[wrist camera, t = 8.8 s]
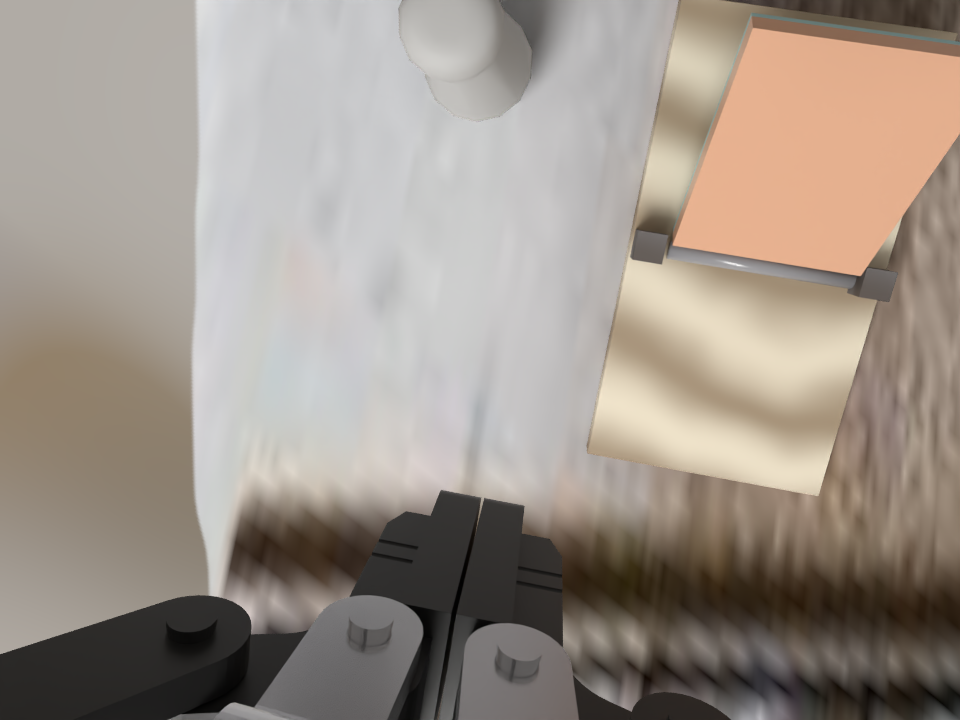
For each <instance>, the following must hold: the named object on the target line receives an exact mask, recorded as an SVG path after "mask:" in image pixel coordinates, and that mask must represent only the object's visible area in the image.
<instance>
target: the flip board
mask: <svg viewBox="0 0 960 720" xmlns="http://www.w3.org/2000/svg"><path fill="white" fill-rule="evenodd" d="M751 13H758V14H765V15H772V16H779V17H786V18H793V19H801V20H808V21H815V22H822V23H829V24H836V25H843V26H851V27H858V28H865V29H872V30H879V31H886V32H893V33H901V34H908V35H915V36H922V37H929V38H936V39H944V40H951V41H955V40H956V37H957V34H958V33H953V32H946V31H939V30H931V29H924V28H917V27H910V26H903V25H895V24H888V23H881V22H874V21H867V20H860V19H852V18H845V17H838V16H831V15H824V14H816V13H809V12H802V11H795V10H788V9H780V8H773V7H766V6H759V5H752V4H744V3H737V2H730V1H723V0H679V2H678V7H677V11H676V16H675V21H674V26H673V31H672V36H671V41H670V45H669V50H668V55H667V60H666V65H665V70H664V74H663V79H662V84H661V89H660V94H659V99H658V104H657V108H656V113H655V118H654V123H653V128H652V133H651V137H650V142H649V147H648V152H647V157H646V162H645V167H644V171H643V176H642V181H641V186H640V191H639V196H638V200H637V205H636V210H635V215H634V220H633V225H632V230H631V234H630V239H629V244H628V249H627V254H626V259H625V263H624V268H623V273H622V278H621V283H620V288H619V293H618V297H617V302H616V307H615V312H614V317H613V322H612V326H611V331H610V336H609V341H608V346H607V351H606V356H605V360H604V365H603V370H602V375H601V380H600V385H599V389H598V394H597V399H596V404H595V409H594V414H593V419H592V423H591V428H590V433H589V438H588V443H587V453H588V454H593V455H599V456H604V457H609V458H615V459H620V460H626V461H631V462H636V463H642V464H647V465H653V466H658V467H663V468H669V469H674V470H680V471H685V472H691V473H696V474H701V475H707V476H712V477H718V478H723V479H728V480H734V481H739V482H745V483H750V484H755V485H761V486H766V487H772V488H777V489H782V490H788V491H793V492H799V493H804V494H809V495H815V496H818V495H819V491H820V488H821V485H822V482H823V478H824V475H825V472H826V468H827V465H828V462H829V458H830V455H831V452H832V448H833V445H834V442H835V438H836V435H837V432H838V428H839V425H840V422H841V419H842V415H843V412H844V409H845V405H846V402H847V399H848V395H849V392H850V389H851V385H852V382H853V379H854V375H855V372H856V369H857V365H858V362H859V359H860V356H861V352H862V349H863V346H864V342H865V339H866V336H867V332H868V329H869V326H870V322H871V319H872V316H873V312H874V309H875V306H876V302H877V300H879V301H885V302H889V301H890V298H891V294H892V291H893V288H894V285H895V281H896V278H897V275H898V273H897V272H893V271H889V270H886V269H887V266H888V263H889V259H890V256H891V253H892V249H893V246H894V243H895V239H896V236H897V233H898V229H899V226H900V223H901V220H902V217H901V219H900V220H899V222H898V223H897V224H896V226H895V227H894V229H893V230H892V232H891V233H890V235H889V236H888V237H887V239H886V240H885V242H884V243H883V245H882V246H881V247H880V249H879V250H878V252H877V253H876V255H875V256H874V258H873V259H872V260H871V262H870V263H869V265H868V266H867V268H866V269H865V270H864V272H863V273H862V275H861V276H857V278H856V282H855V285H854V286H853V288H851V289H847V288H841V287H834V286H828V285H822V284H816V283H810V282H804V281H798V280H792V279H786V278H780V277H774V276H768V275H762V274H756V273H749V272H743V271H737V270H731V269H725V268H719V267H713V266H707V265H701V264H695V263H689V262H683V261H677V260H671V259H666V254H667V248H668V245H669V242H670V241H673V227H674V225H675V222H676V219H677V216H678V214H679V211H680V208H681V205H682V203H683V200H684V197H685V194H686V192H687V189H688V186H689V183H690V181H691V178H692V175H693V172H694V169H695V167H696V164H697V161H698V158H699V156H700V153H701V150H702V147H703V145H704V142H705V139H706V136H707V134H708V131H709V128H710V125H711V122H712V120H713V117H714V114H715V111H716V109H717V106H718V103H719V100H720V98H721V95H722V92H723V89H724V87H725V84H726V81H727V78H728V76H729V73H730V70H731V67H732V64H733V62H734V59H735V56H736V53H737V51H738V48H739V45H740V42H741V40H742V37H743V34H744V31H745V29H746V26H747V23H748V20H749V17H750V15H751Z"/></svg>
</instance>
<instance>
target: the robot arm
mask: <svg viewBox="0 0 960 720" xmlns="http://www.w3.org/2000/svg"><path fill="white" fill-rule="evenodd" d="M480 502H481V498H480V497H475V496H470V495H464V494H459V493H454V492H449V491H443V490H441V491H440V493H439V496H438V498H437V501H436V504H435V506H434V509H433V511H432V514H431V516H427V515H422V514H417V513H412V512H407V511H406V512H404V513H403V514H401V515H400V516H398V517H396V518H395V519H393V520H391V521H390V522H388V523H387V525H386V527H385V529H384V531H383V533H382V534H381V536H380V538H379V542H377V544H376V546H375V548H374V550H373V552H372V556H370V558H369V560H368V562H367V564H366V566H365V568H364V569H363V571H362V573H361V575H360V577H359V579H358V581H357V583H356V585H355V587H354V589H353V591H352V593H351V595H350V597H348V598H344V599H341V600H338V601H336V602H334V603H332V604H330V605H329V606H328V607H326V608H325V609H324V610H323V611H322V612H321V614H320V615H319V616H318V618H317V619H316V620H315V622H314V623H313V625H312V626H311V628H310V629H309V630H307V631H303V632H297V633H289V634H254V635H251V620H250V617H249V615H248V614H247V612H246V611H245V610H244V609H243V608H242V607H240V606H239V605H237V604H236V603H234V602H232V601H229V600H227V599H223V598H219V597H214V596H200V595H198V596H186V597H180V598H175V599H172V600H168V601H165V602H162V603H159V604H155V605H153V606H150V607H146V608H143V609H140V610H137V611H134V612H131V613H128V614H125V615H121V616H118V617H115V618H112V619H109V620H106V621H102V622H99V623H97V624H93V625H90V626H87V627H84V628H81V629H78V630H74V631H71V632H68V633H65V634H62V635H59V636H56V637H53V638H50V639H47V640H43V641H40V642H37V643H34V644H31V645H28V646H25V647H22V648H18V649H16V650H12V651H10V652H6V653H3V654H0V720H437V716H438V711H439V707H440V703H441V698H442V694H443V698H442V704H441V710H440V717H439V720H731V719H730V718H728V717H727V716H726V715H725V714H723V713H722V712H721V711H719V710H717V709H716V708H714V707H713V706H711V705H709V704H707V703H705V702H703V701H701V700H698V699H696V698H693V697H690V696H687V695H683V694H678V693H668V692H662V693H654V694H650V695H647V696H645V697H643V698H642V699H640V700H639V701H638V702H637V703H636V704H635V706H634V707H633V710H632V712H631V711H629V710H626V709H624V708H622V707H620V706H618V705H615V704H613V703H611V702H609V701H607V700H605V699H603V698H601V697H599V696H597V695H596V694H594V693H593V692H591V691H590V690H588V689H587V688H586V687H585V686H583V685H582V684H581V683H580V682H579V681H578V680H577V679H576V678H575V677H574V675H573V673H572V666H571V662H570V659H569V657H568V655H567V653H566V652H565V650H564V649H563V616H562V556H561V555H560V553H559V552H558V550H557V549H556V547H555V546H554V545H553V543H552V542H551V540H550V539H547V538H542V537H537V536H531V535H526V534H521V533H522V524H523V515H524V506H523V505H517V504H512V503H507V502H502V501H496V500H491V499H486V498H484V502H483V506H482V510H481V514H480V518H479V522H478V527H477V521H478V515H479V509H480ZM476 527H477V531H476ZM475 533H476V535H475ZM444 685H445V686H444ZM443 690H444V692H443Z"/></svg>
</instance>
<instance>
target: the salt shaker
mask: <svg viewBox="0 0 960 720" xmlns="http://www.w3.org/2000/svg"><path fill="white" fill-rule="evenodd" d="M399 35H400V39H401V41H402V43H403V46H404V48H405V50H406V53H407V55H408V57H409V60H410V61H411V62H412V63H413V64H414V65H416V66H417V67H418V68H419V69H420V70H422V71H423V72H424V73H425V78H426V80H427V83H428V85H429V87H430V90H431V92H432V94H433V96H434V99H435V100H436V101H437V102H438V103H439V104H440V105H441V106H443V107H444V108H445V109H446V110H447V111H448V112H449V113H451V114H452V115H453V116H455V117H459V118H463V119H467V120H471V121H475V122H479V121H483V120H488V119H492V118H496V117H500V116H501V115H503V114H504V113H505V112H506V111H508V110H509V109H510V108H511V107H513V106H514V105H515V104H516V103H518V102H519V101H520V99H521V97H522V95H523V93H524V91H525V89H526V87H527V84H528V82H529V80H530V78H531V63H532V49H531V47H530V45H529V43H528V40H527V38H526V36H525V34H524V31H523V29H522V27H521V26H520V25H519V24H518V23H517V22H516V21H515V20H514V19H512V18H511V17H510V16H509V15H508V14H507V13H506V12H505V11H504V10H503V8H502V5H501V3H500V1H499V0H402V2H401V4H400V6H399Z"/></svg>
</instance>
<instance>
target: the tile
mask: <svg viewBox="0 0 960 720" xmlns="http://www.w3.org/2000/svg"><path fill="white" fill-rule="evenodd" d="M959 134H960V42H958V41H951V40H944V39H936V38H929V37H922V36H915V35H908V34H901V33H893V32H886V31H879V30H872V29H865V28H858V27H851V26H843V25H836V24H829V23H822V22H815V21H808V20H801V19H793V18H786V17H779V16H772V15H765V14H758V13H751V15H750V17H749V20H748V23H747V26H746V29H745V31H744V34H743V37H742V40H741V42H740V45H739V48H738V51H737V53H736V56H735V59H734V62H733V64H732V67H731V70H730V73H729V76H728V78H727V81H726V84H725V87H724V89H723V92H722V95H721V98H720V100H719V103H718V106H717V109H716V111H715V114H714V117H713V120H712V122H711V125H710V128H709V131H708V134H707V136H706V139H705V142H704V145H703V147H702V150H701V153H700V156H699V158H698V161H697V164H696V167H695V169H694V172H693V175H692V178H691V181H690V183H689V186H688V189H687V192H686V194H685V197H684V200H683V203H682V205H681V208H680V211H679V214H678V216H677V219H676V222H675V225H674V227H673V241H670V242H669V245H668V248H667V254H666V259H671V260H677V261H683V262H689V263H695V264H701V265H707V266H713V267H719V268H725V269H731V270H737V271H743V272H749V273H756V274H762V275H768V276H774V277H780V278H786V279H792V280H798V281H804V282H810V283H816V284H822V285H828V286H834V287H841V288H847V289H851V288H853V286H854V285H855V282H856V278H857V276H861V275H862V273H863V272H864V270H865V269H866V268H867V266H868V265H869V263H870V262H871V260H872V259H873V258H874V256H875V255H876V253H877V252H878V250H879V249H880V247H881V246H882V245H883V243H884V242H885V240H886V239H887V237H888V236H889V235H890V233H891V232H892V230H893V229H894V227H895V226H896V224H897V223H898V222H899V220H900V219H901V217H902V216H903V214H904V213H905V211H906V210H907V209H908V207H909V206H910V204H911V203H912V201H913V200H914V199H915V197H916V196H917V194H918V193H919V191H920V190H921V188H922V187H923V186H924V184H925V183H926V181H927V180H928V178H929V177H930V176H931V174H932V173H933V171H934V170H935V168H936V167H937V165H938V164H939V163H940V161H941V160H942V158H943V157H944V155H945V154H946V153H947V151H948V150H949V148H950V147H951V145H952V144H953V142H954V141H955V140H956V138H957V137H958V135H959Z"/></svg>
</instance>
